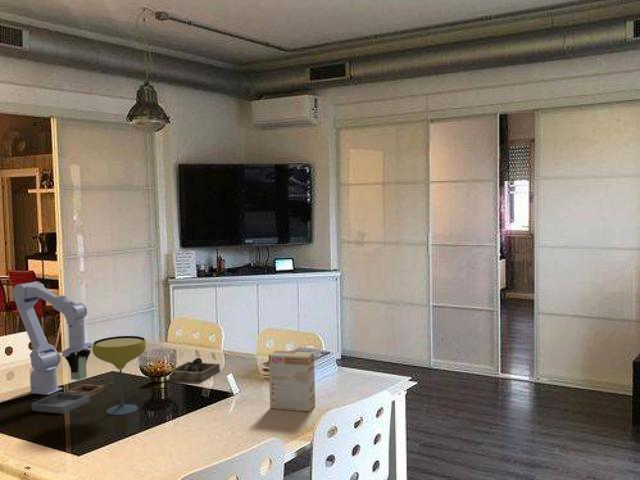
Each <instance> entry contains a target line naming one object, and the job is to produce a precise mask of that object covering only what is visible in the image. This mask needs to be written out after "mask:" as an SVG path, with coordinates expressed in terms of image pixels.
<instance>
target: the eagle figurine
mask: <svg viewBox="0 0 640 480" xmlns="http://www.w3.org/2000/svg"><path fill="white" fill-rule="evenodd" d="M191 362H192V366H190V365H187V366H186V367H185V371H187V372H198V373H200V371H197V370H198V369H199V368H200V365H201V364H202V363H203V360H202V358H200V357H196V358H195V359H194V360H192V361H191ZM198 366H199V367H198ZM197 367H198V368H197ZM196 368H197V369H196Z"/></svg>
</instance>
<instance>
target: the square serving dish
mask: <svg viewBox="0 0 640 480" xmlns="http://www.w3.org/2000/svg"><path fill="white" fill-rule="evenodd" d="M192 362H193V361H187V362H185V363H183V364H180V365H179V366H177V367H175V370H174V371H173V373H172V374H171V375H169V374H168V378H169V380H171V379H175V380H174V381H186V382H195V383H196V382H198V383H203V382H205V381H206V380H208V379H210V378H212V377H214V376H215V375H217V374H219V373H220V372H221V370H220V369H221V368H220V366H221V365H220V363H211V362H210V363H209V362H202V364H201V365H200V368H199V369H198V370H197V371H198V372H199V373H198V372H188V371H185V367H186V366H187V365H190V366H192ZM198 367H199V366H198ZM198 367H197V368H198ZM197 368H196V369H197Z"/></svg>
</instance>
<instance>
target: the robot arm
mask: <svg viewBox="0 0 640 480" xmlns="http://www.w3.org/2000/svg"><path fill="white" fill-rule="evenodd" d="M11 293H12V297H13V300H14V302H15V305H16V307H17V311H18V313H19V316H20V318H21V320H22V324H23V326H24V328H25V331H26V333H27V335H28V338H29V341H30V343H31V346H32V348H33V349H32V351H31V352H30V354H29V357H30V364H31V367H32V369H33V370H32V371H31V373H30V375H29V378H30V379H29V380H30V385H29V386H30V391H29V394H36V395H37V394H38V395H45V396H50V395H53V394H55V393H57V392H60V391H61V390H63V387H58V378H57V377H58V376H57V368H58V365H59V364H60V362H61V356H60V353H59V352H58V351H57V350H56V347H55V346H54V345H52V344H50V343H48V340H47V339H46V338H47V337H46V336H45V333H44V331H43V328H42V325H41V324H40V321H39V318H38V316H37V314H36V310H35V308H34V306H35V305H36V303H38V301H39V299H41V300H43V301H45V302H48V303H50V304H51V306H52V308H53V310H56V311H58V312H60V313H61V314H62V315H64V318H65V320H66V324H67V327H68V330H67V331H68V344H69V345H68V346H69V347H68V348H67V349H64V350H61V353H62V354H61V355H62V357H64V358H65V360H66V361H67V363H68V366H69V368H70V372H71V371H72V372H74V373H76V372H77V371H78V360H79V356H83V357H86V364H87V362H88V359H89V357H90V354H91V349H92V346H93V343H92V342H86V336H85V334H86V333H85V317H87V314H88V309H87V307H86V305H85V304H83V303H81V302H79V303H76V302H75V301H74V300H71V299H69V298H67V296H66V295H64V294H63V295H62V294H61V295H56V294H55V293H53V292H52V291H51V290H49V289H48V288H46V287H45V284H43V283H41V282H40V281H36V280H35V281H33V282H26V283H17V284H16V285H14V287H13V291H12V292H11Z"/></svg>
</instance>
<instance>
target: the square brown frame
mask: <svg viewBox="0 0 640 480" xmlns="http://www.w3.org/2000/svg"><path fill="white" fill-rule="evenodd" d="M106 389H107V388H106V385H99V384H88V383H82V384H80V385H78V386H75V387H74V388H73V387H72V388H71V389H69V390H66V391H65V393H74V394H84V395H90V398H91V397H93V396H95V395H97V394H99V393H101V392H103V391H105V390H106ZM82 390H90V391H87V392H86V391H82Z"/></svg>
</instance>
